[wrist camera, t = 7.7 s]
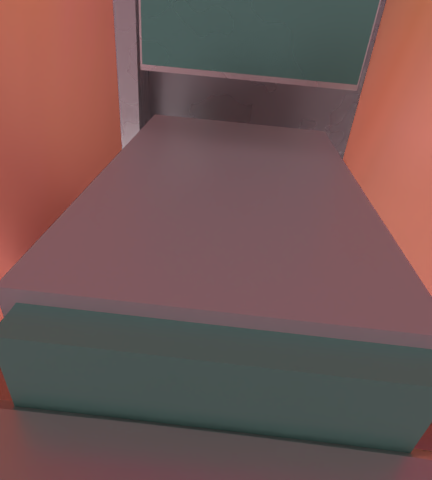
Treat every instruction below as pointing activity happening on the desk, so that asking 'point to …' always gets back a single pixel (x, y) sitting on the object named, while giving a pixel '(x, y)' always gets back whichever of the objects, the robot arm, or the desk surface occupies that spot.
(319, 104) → the rail
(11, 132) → the desk surface
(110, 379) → the block
